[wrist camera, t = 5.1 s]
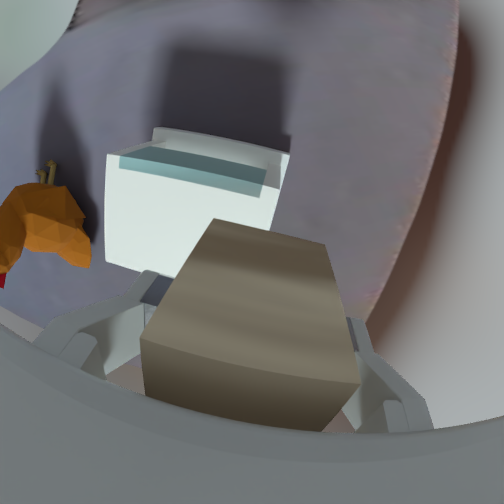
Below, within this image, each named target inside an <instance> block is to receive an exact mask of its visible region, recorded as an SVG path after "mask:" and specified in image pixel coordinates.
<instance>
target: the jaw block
mask: <svg viewBox="0 0 504 504" xmlns="http://www.w3.org/2000/svg"><path fill="white" fill-rule="evenodd" d="M139 339H140V351H141V362H142V371H143V379H144V387H145V395H146V396H148V397H151V398H153V399H156V400H160V401H163V402H166V403H169V404H172V405H176V406H179V407H183V408H186V409H190V410H193V411H197V412H201V413H205V414H209V415H213V416H218V417H222V418H227V419H231V420H236V421H241V422H247V423H252V424H258V425H264V426H271V427H278V428H286V429H294V430H304V431H316V432H321V431H322V430H323V429H324V428H325V427H326V426H327V425H328V424H329V422H330V421H331V420H332V419H333V418H334V417H335V416H336V414H337V413H338V412H339V411H340V410H341V409H342V407H343V406H344V405H345V404H346V403H347V401H348V400H349V399H350V398H351V396H352V395H353V394H354V393H355V391H356V390H357V389H358V388H359V386H360V385H361V380H360V375H359V371H358V366H357V362H356V357H355V353H354V349H353V344H352V340H351V336H350V332H349V328H348V324H347V320H346V316H345V313H344V309H343V305H342V301H341V298H340V294H339V291H338V287H337V284H336V280H335V277H334V273H333V270H332V266H331V263H330V260H329V257H328V253H327V250H326V247H325V245H324V244H320V243H316V242H312V241H308V240H304V239H300V238H296V237H292V236H288V235H284V234H280V233H276V232H272V231H268V230H263V229H259V228H255V227H251V226H247V225H242V224H238V223H234V222H229V221H225V220H221V219H216V218H213V220H212V221H211V223H210V224H209V226H208V227H207V229H206V230H205V232H204V233H203V235H202V236H201V238H200V239H199V241H198V242H197V244H196V245H195V247H194V249H193V250H192V252H191V253H190V255H189V256H188V258H187V260H186V261H185V263H184V264H183V266H182V267H181V269H180V271H179V272H178V274H177V275H176V277H175V279H174V280H173V282H172V284H171V285H170V287H169V288H168V290H167V292H166V293H165V295H164V297H163V298H162V300H161V302H160V303H159V305H158V307H157V308H156V310H155V312H154V313H153V315H152V317H151V318H150V320H149V322H148V324H147V325H146V327H145V329H144V330H143V332H142V334H141V336H140V337H139Z"/></svg>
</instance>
